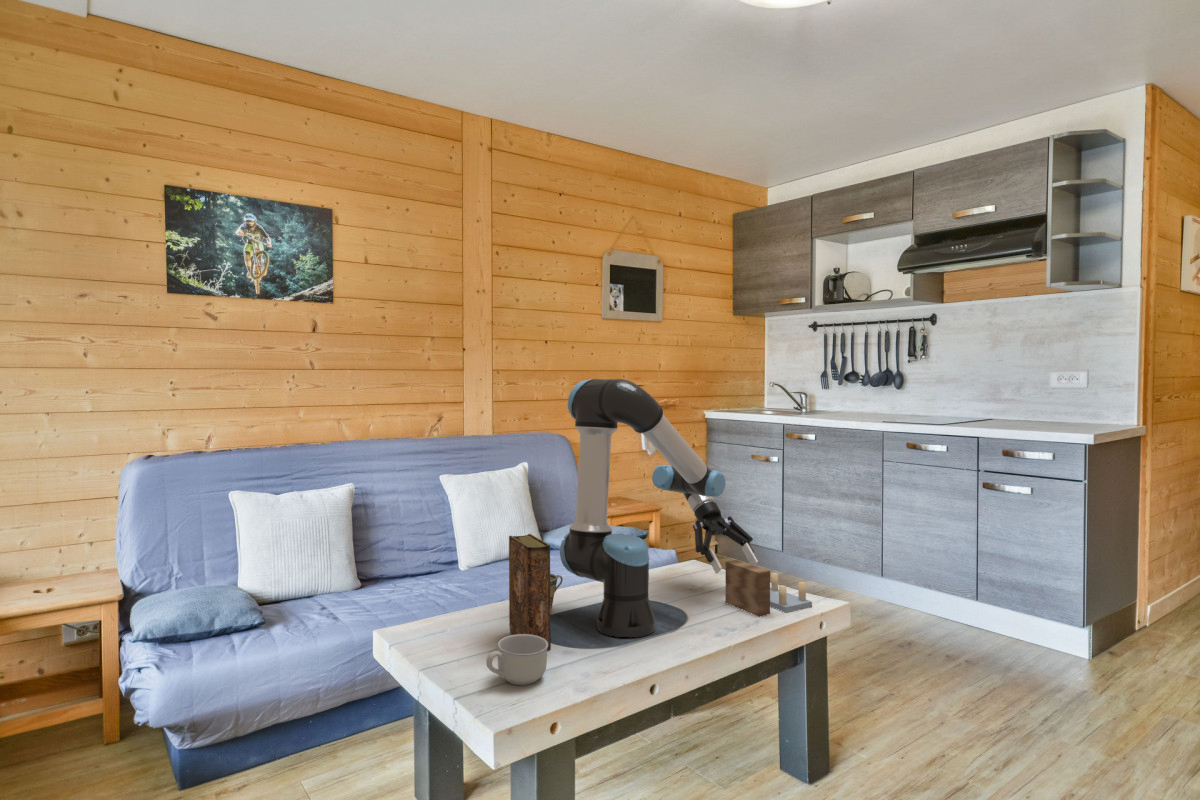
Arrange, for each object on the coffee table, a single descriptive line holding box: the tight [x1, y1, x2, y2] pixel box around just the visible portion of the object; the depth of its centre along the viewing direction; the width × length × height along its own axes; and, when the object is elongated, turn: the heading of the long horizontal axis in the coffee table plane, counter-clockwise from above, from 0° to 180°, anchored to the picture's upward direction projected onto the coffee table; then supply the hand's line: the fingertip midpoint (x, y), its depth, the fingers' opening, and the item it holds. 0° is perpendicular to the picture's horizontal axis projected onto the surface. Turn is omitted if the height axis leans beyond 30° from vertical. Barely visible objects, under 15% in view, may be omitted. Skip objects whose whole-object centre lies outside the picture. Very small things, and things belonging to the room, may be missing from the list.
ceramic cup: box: [550, 572, 564, 615], centre depth 192 cm, size 13×10×10 cm
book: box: [508, 533, 552, 653], centre depth 170 cm, size 16×6×25 cm, turn 25°
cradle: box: [770, 572, 813, 613], centre depth 200 cm, size 16×10×6 cm, turn 29°
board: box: [725, 559, 771, 618], centre depth 194 cm, size 14×4×12 cm, turn 29°
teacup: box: [486, 634, 548, 686], centre depth 147 cm, size 14×11×8 cm
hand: (737, 567), depth 200 cm, fingers open, 13 cm apart
